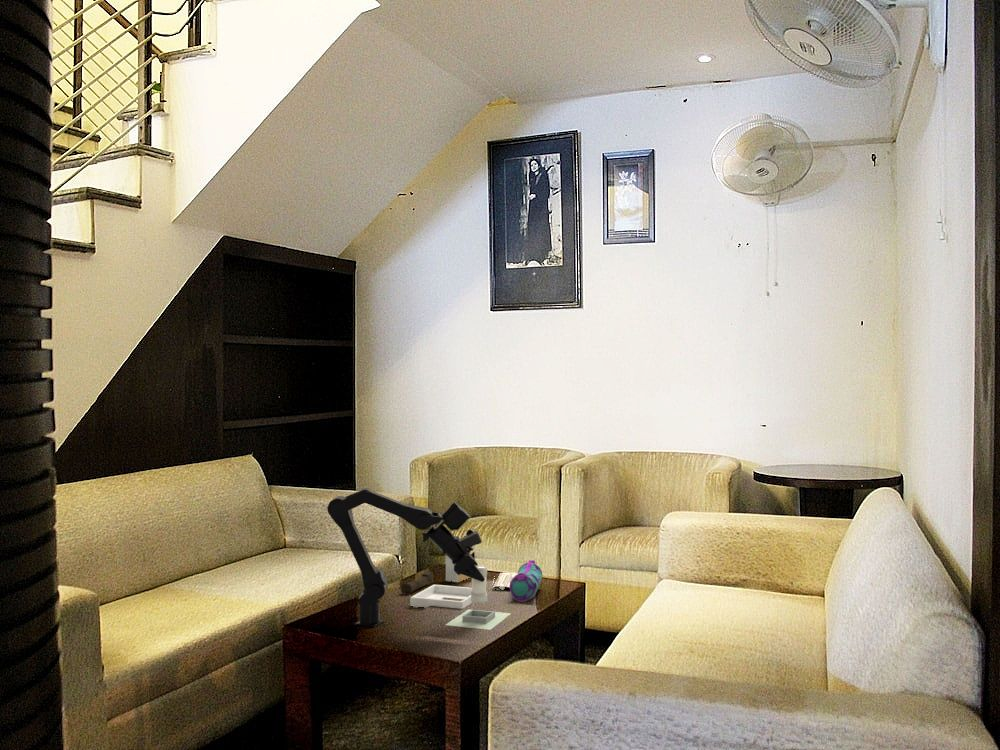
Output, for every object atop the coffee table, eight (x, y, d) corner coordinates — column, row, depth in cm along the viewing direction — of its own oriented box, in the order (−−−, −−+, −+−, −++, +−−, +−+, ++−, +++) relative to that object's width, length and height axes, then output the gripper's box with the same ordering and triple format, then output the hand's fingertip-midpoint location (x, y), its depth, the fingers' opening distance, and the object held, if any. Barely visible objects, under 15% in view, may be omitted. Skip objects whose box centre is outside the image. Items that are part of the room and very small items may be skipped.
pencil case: (536, 603, 273) (536, 573, 273) (509, 602, 275) (509, 572, 275) (543, 588, 294) (543, 560, 294) (517, 587, 295) (517, 559, 295)
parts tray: (462, 611, 263) (462, 602, 263) (410, 606, 269) (410, 597, 269) (483, 597, 280) (483, 588, 280) (433, 593, 286) (433, 584, 286)
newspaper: (494, 577, 312) (495, 570, 312) (527, 581, 311) (528, 574, 311) (486, 592, 290) (487, 584, 290) (522, 596, 288) (522, 589, 288)
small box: (457, 583, 301) (457, 553, 301) (445, 581, 304) (445, 551, 304) (470, 578, 308) (470, 549, 308) (458, 576, 311) (458, 548, 311)
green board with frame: (490, 633, 241) (490, 624, 241) (445, 628, 245) (445, 619, 245) (511, 616, 258) (511, 608, 258) (468, 612, 262) (468, 604, 262)
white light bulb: (483, 603, 248) (483, 569, 249) (468, 602, 250) (468, 568, 250) (489, 599, 253) (489, 566, 253) (474, 598, 255) (474, 564, 255)
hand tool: (410, 595, 284) (410, 582, 284) (400, 594, 286) (400, 580, 286) (439, 583, 301) (439, 570, 301) (429, 582, 303) (429, 569, 303)
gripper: (465, 527, 242) (504, 566, 243) (465, 517, 261) (501, 553, 261) (437, 555, 242) (476, 593, 242) (440, 543, 261) (476, 578, 261)
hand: (483, 578), depth 252 cm, fingers closed on white light bulb, 5 cm apart
